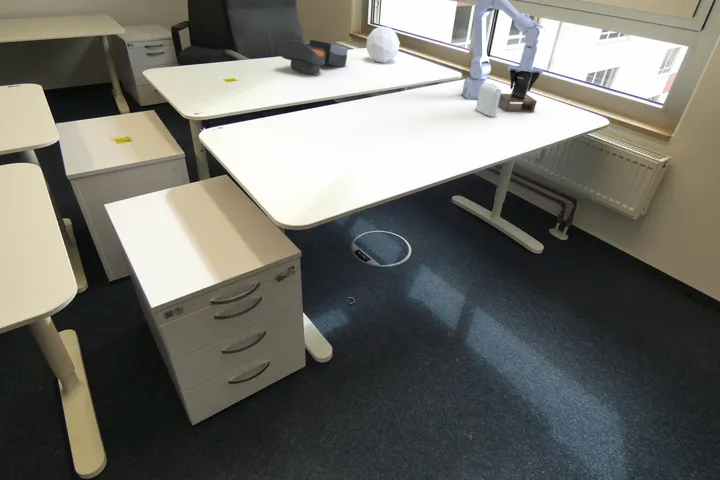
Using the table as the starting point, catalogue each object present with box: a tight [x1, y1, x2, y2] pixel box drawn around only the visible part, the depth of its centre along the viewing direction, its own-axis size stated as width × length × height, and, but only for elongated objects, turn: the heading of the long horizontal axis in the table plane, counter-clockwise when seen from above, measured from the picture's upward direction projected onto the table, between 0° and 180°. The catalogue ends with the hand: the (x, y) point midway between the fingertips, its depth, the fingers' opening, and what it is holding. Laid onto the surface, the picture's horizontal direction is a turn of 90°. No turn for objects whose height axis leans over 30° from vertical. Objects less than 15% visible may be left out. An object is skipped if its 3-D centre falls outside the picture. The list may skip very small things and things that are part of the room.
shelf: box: [498, 93, 538, 113], centre depth 195 cm, size 14×10×5 cm
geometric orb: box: [365, 26, 401, 64], centre depth 252 cm, size 19×20×20 cm
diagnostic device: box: [277, 39, 348, 75], centre depth 228 cm, size 38×17×22 cm
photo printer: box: [475, 82, 502, 118], centre depth 184 cm, size 10×4×12 cm, turn 26°
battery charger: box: [510, 70, 532, 98], centre depth 191 cm, size 7×4×11 cm, turn 38°
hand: (519, 89), depth 192 cm, fingers closed on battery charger, 7 cm apart
